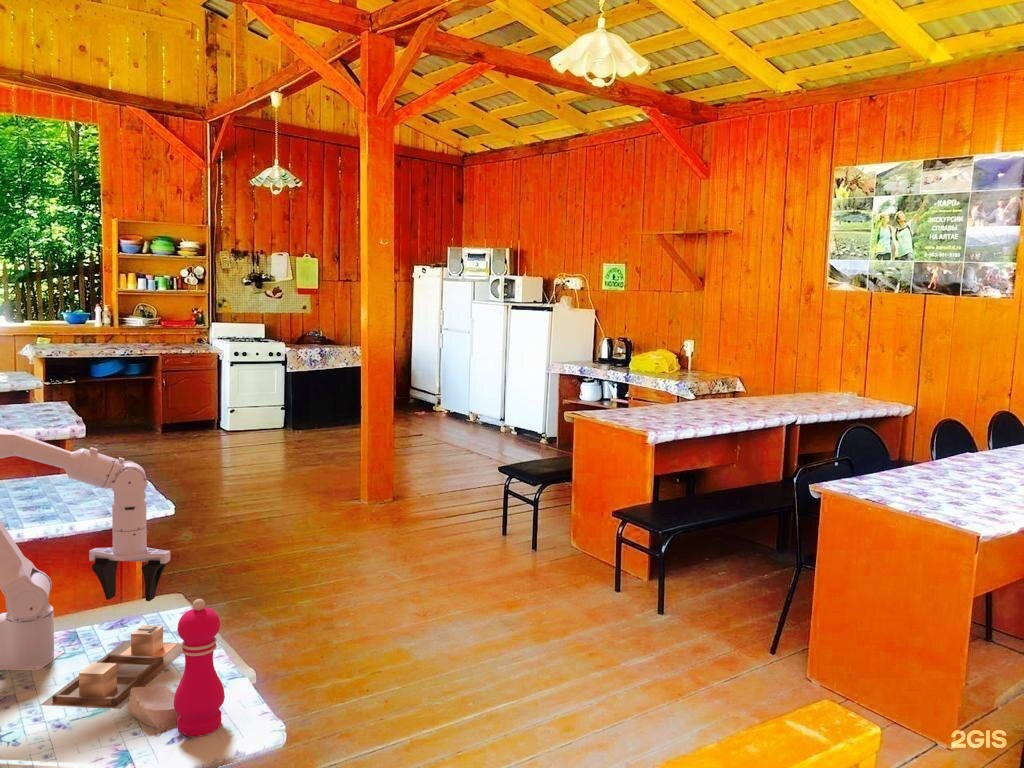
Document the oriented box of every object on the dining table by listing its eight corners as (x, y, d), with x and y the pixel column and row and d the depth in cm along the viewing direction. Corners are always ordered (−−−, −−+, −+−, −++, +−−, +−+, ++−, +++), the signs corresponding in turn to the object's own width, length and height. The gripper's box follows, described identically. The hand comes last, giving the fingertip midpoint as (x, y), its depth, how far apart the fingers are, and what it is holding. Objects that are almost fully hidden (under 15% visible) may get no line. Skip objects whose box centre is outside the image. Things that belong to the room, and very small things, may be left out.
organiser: (40, 707, 123) (40, 698, 123) (124, 643, 148) (124, 635, 148) (120, 711, 122) (120, 702, 122) (191, 646, 147) (191, 638, 147)
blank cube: (79, 696, 126) (78, 673, 125) (93, 685, 130) (93, 662, 129) (103, 697, 125) (103, 674, 125) (116, 686, 129) (116, 663, 129)
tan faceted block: (178, 745, 120) (193, 713, 119) (137, 749, 115) (152, 716, 115) (159, 703, 127) (173, 672, 126) (120, 705, 122) (134, 673, 122)
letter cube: (131, 655, 141) (130, 633, 141) (142, 646, 145) (141, 624, 145) (152, 655, 141) (152, 634, 141) (163, 646, 145) (162, 625, 145)
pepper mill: (174, 743, 114) (173, 610, 112) (172, 720, 120) (171, 594, 119) (227, 733, 117) (226, 603, 115) (222, 711, 123) (221, 588, 122)
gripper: (78, 531, 141) (80, 604, 142) (157, 534, 140) (157, 607, 141) (100, 522, 148) (101, 591, 149) (175, 524, 147) (176, 594, 148)
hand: (130, 598), depth 145 cm, fingers open, 7 cm apart
